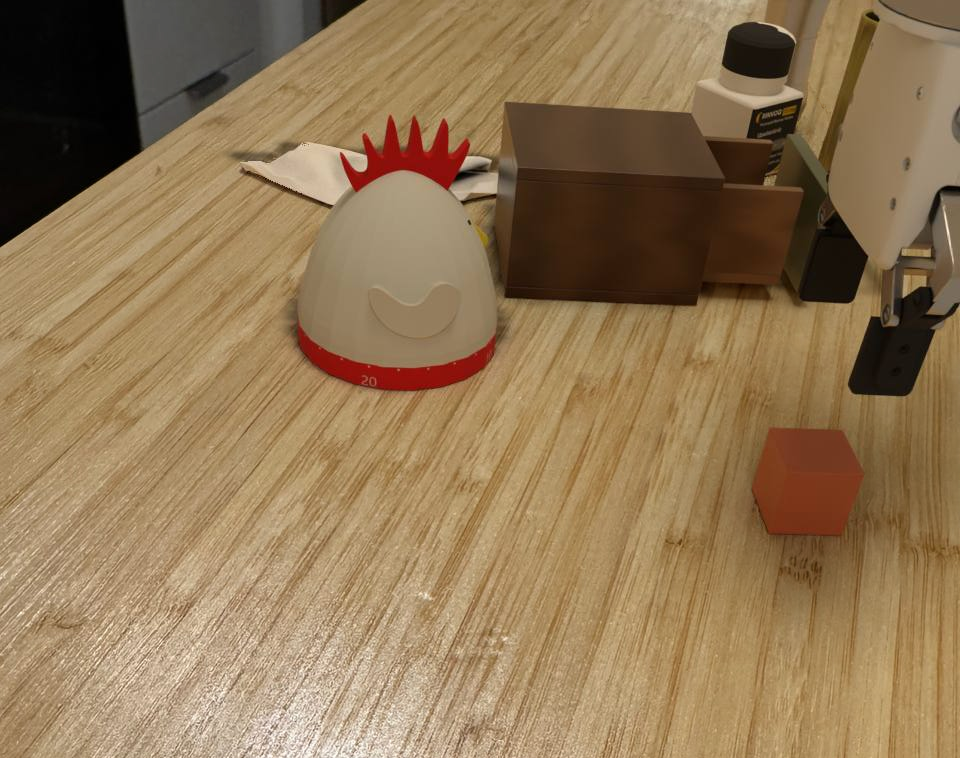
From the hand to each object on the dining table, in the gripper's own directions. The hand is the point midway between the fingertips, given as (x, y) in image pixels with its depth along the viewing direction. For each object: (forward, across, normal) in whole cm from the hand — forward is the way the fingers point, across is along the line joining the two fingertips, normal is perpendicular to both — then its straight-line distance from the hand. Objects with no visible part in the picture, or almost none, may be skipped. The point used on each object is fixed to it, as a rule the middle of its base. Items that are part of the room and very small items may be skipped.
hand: (849, 343), depth 61 cm
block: (+11, 0, 0) cm, 11 cm away
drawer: (+10, +32, -5) cm, 34 cm away
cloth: (+12, +45, +25) cm, 53 cm away
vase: (+11, +51, -18) cm, 55 cm away
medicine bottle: (+11, +54, -8) cm, 56 cm away
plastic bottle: (+11, +65, -14) cm, 68 cm away
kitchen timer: (+12, +19, +24) cm, 33 cm away
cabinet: (+11, +32, +8) cm, 35 cm away
